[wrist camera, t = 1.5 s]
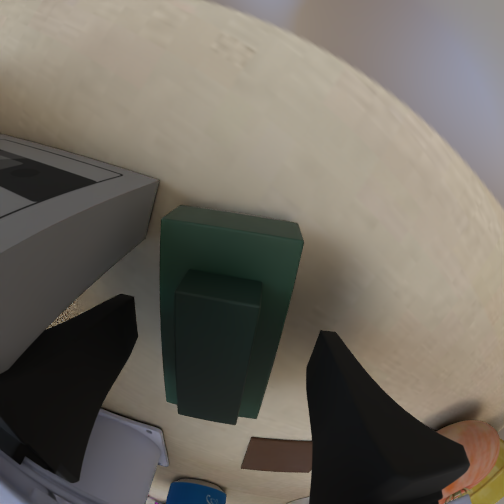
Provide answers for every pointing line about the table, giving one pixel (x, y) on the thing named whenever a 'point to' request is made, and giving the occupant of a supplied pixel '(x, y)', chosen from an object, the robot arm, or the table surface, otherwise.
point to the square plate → (278, 455)
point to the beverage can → (195, 493)
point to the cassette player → (59, 233)
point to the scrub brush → (223, 307)
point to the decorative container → (300, 501)
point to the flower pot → (490, 483)
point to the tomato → (472, 454)
